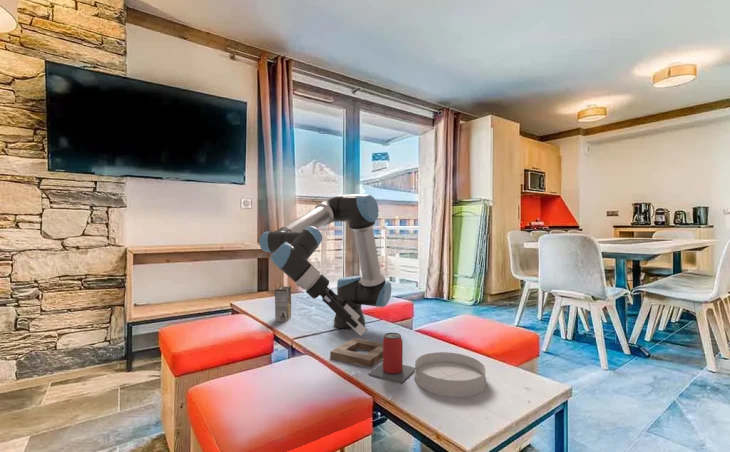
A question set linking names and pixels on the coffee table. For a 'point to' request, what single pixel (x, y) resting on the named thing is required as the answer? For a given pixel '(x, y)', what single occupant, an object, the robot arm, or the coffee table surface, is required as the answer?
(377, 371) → the coaster
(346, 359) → the pocket tray
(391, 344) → the beer can
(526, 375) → the coffee table surface
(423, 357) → the dish
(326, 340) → the coffee table surface
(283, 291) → the coffee box
